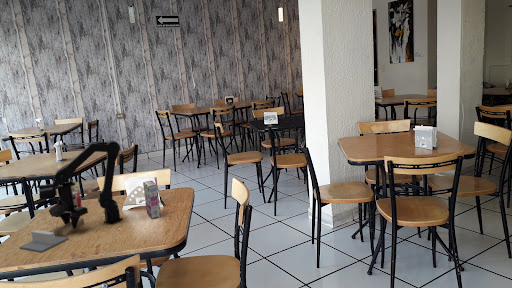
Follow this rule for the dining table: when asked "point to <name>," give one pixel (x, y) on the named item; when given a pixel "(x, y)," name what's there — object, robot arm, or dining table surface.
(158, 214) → the candy bar box
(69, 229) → the oak batten
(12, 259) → the dining table surface
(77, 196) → the soda can
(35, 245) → the fulcrum stand
